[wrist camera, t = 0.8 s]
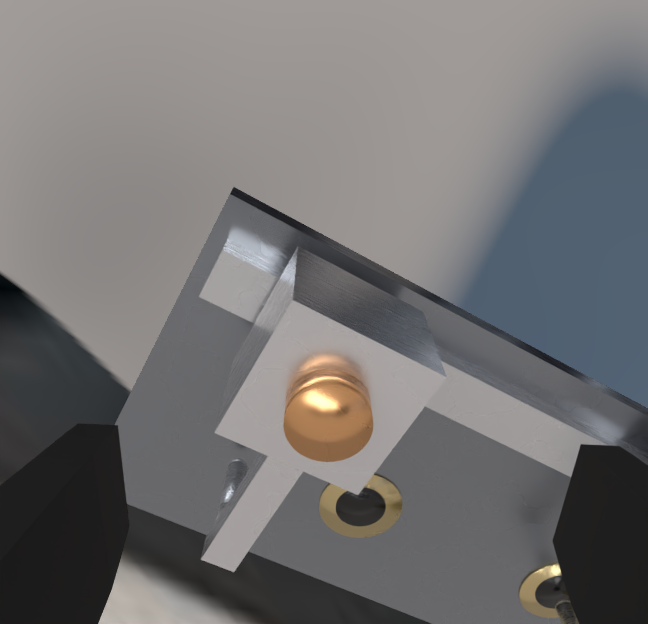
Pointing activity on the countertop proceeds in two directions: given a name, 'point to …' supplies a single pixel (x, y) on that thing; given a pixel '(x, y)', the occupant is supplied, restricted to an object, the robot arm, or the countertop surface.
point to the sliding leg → (317, 394)
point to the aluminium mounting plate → (402, 462)
